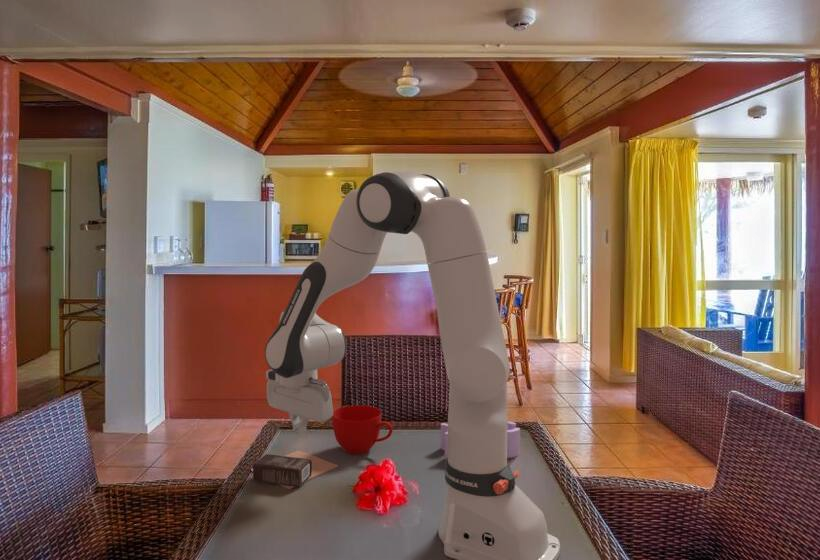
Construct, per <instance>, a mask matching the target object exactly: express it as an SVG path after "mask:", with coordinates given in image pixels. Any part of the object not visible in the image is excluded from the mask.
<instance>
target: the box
mask: <svg viewBox="0 0 820 560" xmlns="http://www.w3.org/2000/svg"><path fill="white" fill-rule="evenodd" d="M252 468H253V472H252V476H253V477H252V479H253V482H261V483H268V484H276V485H279V484H282V485H289V486H295V487H298V488H300V487H301V486H302V485H304V484H305V483H306V482H307V481H306V480H307V479H308V478H309V477H311V471H312V462H311V459H303V458H295V457H287V456H285V455H278V454H277V455H276V454H269V453H265V454H264V455H263V456H261V457H260V458H258V459H257V461H255V462H254V463H253V464H252ZM305 481H306V482H305Z"/></svg>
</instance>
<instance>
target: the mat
mask: <svg viewBox="0 0 820 560" xmlns="http://www.w3.org/2000/svg"><path fill="white" fill-rule="evenodd" d="M284 456H287V457H295V458H303V459H311V462H312V471H311V477H309V478H308V479H307V480H306V481H305V482H304V483H306V482H308V481H311V480H313V479H315V478H317V477H319V476H321V475H323V474H324V475H325V474H326V473H328V472H331V471H332V470H335V469H337V468H339V465H337V464H335V463H333V462H330V461H327V460H325V459H323V458H319V457H317V456H315V455H311V454H310V453H307V452H304V451H301V450H296V451H293V452H291V453H288V454H286V455H284ZM250 469H251V471H252V472H251V471H250V472H251V473H253V467H252V468H250ZM278 485H279V486H281V487H283V488H285V489H288V490H291V489H292V488H295V487H296V486H289V485H282V484H278Z"/></svg>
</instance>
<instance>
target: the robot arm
mask: <svg viewBox="0 0 820 560" xmlns="http://www.w3.org/2000/svg"><path fill="white" fill-rule="evenodd" d="M330 227H331V228H330V230H329V233H328V236H327V239H326V241H325V243H324V245H323V247H322V249H321V250H320V252H319V253H318V255H317V256H316V257H315V259H314V260H313V261H312V262H311V263H310V264H309V265H308V266H307V267H306V268H304V270H303V272H302V274H301V275H300V277H299V280H298V281H297V284H296V285H295V288H294V289H293V293H292V295H291V297H290V299H289V300H288V304H286V305H287V306H286V307H285V309H284V310H283V311H281V313H280V317H279V321H278V325H277V326H276V327H275V329H274V330H273V332H272V333H271V335H270V337H269V338H268V340H267V342H266V345H265V349H264V358H265V361H266V364H267V366H268V367H269V368H270V369H268V370H266V372H265V377H266V379H267V383H266V399H267V403H268V405H269V407H271V408H274V409H277V410H280V411H283V412H286V413H288V417H289V419H290V421H291V424H292V431H293V432H296V433H299V434H300V435H303V434H306V432H307V429H308V428H307V425H308V423H309V422H310V420H311V421H313V422H314V421H315V422H317V423H321V424H322V423H324V422H327V421H330V420H331V419H332V416H333V412H334V408H333V400H332V394H331V391H330V387H329V386H328V384H327V383H326V381H324V380H320V379H318V370H319V369H322V368H326V367H331V366H334V365H337V364H339V363H341V362H342V361H343V359H344V357H345V356H346V354H347V346H348V345H347V343H348V342H347V338H346V335H345V332H344V331H343V330H342V329H341V327H340V326H338V325H337V324H334V323H330V322H328V321H326V320H324V319H323V318H322V317H320V316H319V315H318V314H317V311H318V309H319V307H320V306H321V304H322V303H324V301H326V300H327V299H328V298H329V297H331V296H334V295H335V294H337V293H339V292H341V291H342V290H345V289H347V288H349V287H351V286H354V285H356V284H359V283H361V282H362V281H364V280H365V279H367V277H369V276H370V274H371V273H372V271H373V270H374V268H375V266H376V264H377V261H378V259H379V256H380V253H381V250H382V248H383V247H382V246H383V243H384V241H385V238H386V236H387V233H389V234H390V233H394V234H400V235H408V234H409V233H411V232H412V233H414V234H416V235H417V236H418V238H419V239H420V241H421V243H422V245H423V249H424V253H425V259H426V264H427V270H428V274H429V278H430V282H431V288H432V292H433V293H432V294H433V298H434V303H435V307H436V313H437V323H438V329H439V336H440V341H441V348H442V355H443V361H444V366H445V372H446V377H447V378H448V379H447V380H448V383H449V388H448V389H449V395H448V411H447V415H448V416H447V424H448V457H447V458H446V459H445V462H444V464H445V468H444V479H445V483H446V490H445V501H444V505H443V512H442V516H441V520H440V523H439V527H438V529H437V530H438V531H437V532H438V537H439V539H440V541H441V542H442V544H443V552H444V555H445V556H446V557H448V558H451V559H454V560H558V559H559V556H560V554H561V544H560V540H559V538H557V537H556V536H553V535H552V534H550V533H548V526H547V525H548V524H547V522H546V521H547V520H546V518H545V515H544V512H543V511H542V510H541V509H540V508H539V507H538V506H537V505H536V504H535V502H533V501H532V500H531V499H530V498H529V497H528V496H527V495H526V494H525V493H524V492H523V490H522V489H521V488H519V487H518V486H517V485H516V481H515V480H516V479H517V478H518V477H520V469H517V470H516V471H514V472H513V471H512V469H511V466H510V463H509V462H508V460H507V459H508V458H507V421H508V380H509V377H510V374H511V373H510V372H511V368H510V359H509V355H508V349H507V345H506V340H505V336H504V331H503V326H502V321H501V315H500V312H499V306H498V301H497V296H496V292H495V291H496V290H495V287H494V282H493V276H492V272H491V271H492V270H491V267H490V263H489V257H488V252H487V248H486V243H485V240H484V237H483V232H482V229H481V226H480V222H479V221H478V219H477V215H476V213H475V211H474V209H473V207H472V205H471V203H470V202H469V201H467V200H466V199H464V198H462V197H456V196H451V194H450V191H449V189H448V187H447V185H445V183H443V182H442V181H441V180H440V179H439V178H437V177H435V176H434V175H430V174H424V173H422V174H421V173H415V172H414V173H413V172H409V171H395V172H394V171H393V172H380V173H376V174H374V175H372V176H369V177H368V178H367V179H365V180H364V181H363V182H362V183H361V185H360V186H359V188H356V189H352V190H350V191H349V192H348V193H347V194H346V195H345V197H344V198H343V200H342V202H341V204H340V206H339V208H338V209H337V212H336V214H335V217H334V219H333V221H332V224H331V226H330Z"/></svg>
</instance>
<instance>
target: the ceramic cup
mask: <svg viewBox="0 0 820 560" xmlns="http://www.w3.org/2000/svg"><path fill="white" fill-rule="evenodd" d="M331 419H332V422H331V423H332V427H333V430H332V431H333V432H334V433H333V434H334V438H335V440H336V442H337V443H338V445H339V446H340V447H341V449H343V450H344V452H345V453H347V454H349V455H363V454H366V453H368V452H370V450H371V449H372V448H373V446H374V445H375V444H376V443H378V442H383V441H385V440H387V439H389V438H390V437H391V436H392V434H393V432H394V431H393V429H394V428H393V426H392V424H391V423H390V422H389V421H385V420H384V421H382V411H381V410H380V409H379V408H378V407H375V406H371V405H361V404H360V405H359V404H358V405H347V406H343V407H339V408H337V409H335V410H333V416H332V418H331ZM383 425H384V426H387V427H388V430H389V431H388V434H387V435H385V436H383V437H379V435H380V433H381V427H382V426H383Z"/></svg>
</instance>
